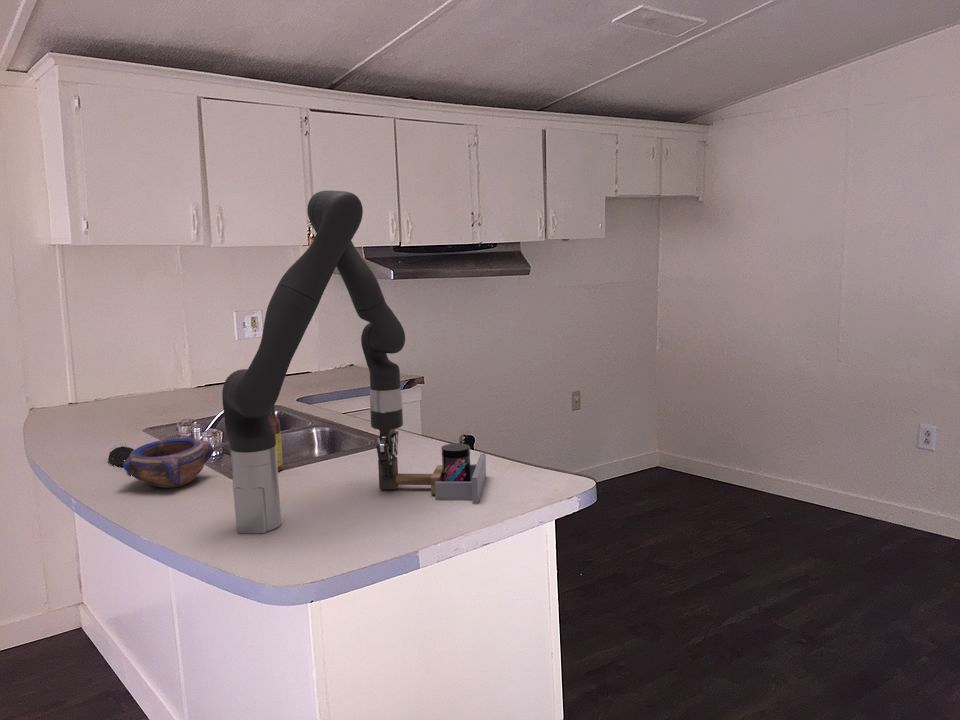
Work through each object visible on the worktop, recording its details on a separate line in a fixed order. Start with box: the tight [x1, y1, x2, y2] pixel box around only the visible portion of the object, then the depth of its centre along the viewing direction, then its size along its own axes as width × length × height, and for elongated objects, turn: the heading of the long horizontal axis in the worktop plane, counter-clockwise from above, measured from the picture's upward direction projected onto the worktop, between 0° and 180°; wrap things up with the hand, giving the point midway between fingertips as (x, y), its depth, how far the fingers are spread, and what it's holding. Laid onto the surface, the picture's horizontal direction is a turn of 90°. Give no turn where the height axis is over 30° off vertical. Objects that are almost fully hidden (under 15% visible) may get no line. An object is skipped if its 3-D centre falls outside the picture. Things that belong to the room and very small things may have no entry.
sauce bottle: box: [268, 405, 284, 472], centre depth 210 cm, size 6×6×20 cm
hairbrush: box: [107, 443, 135, 467], centre depth 220 cm, size 8×4×25 cm
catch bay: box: [434, 453, 487, 504], centre depth 191 cm, size 20×10×6 cm, turn 174°
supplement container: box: [440, 443, 472, 482], centre depth 190 cm, size 7×7×10 cm
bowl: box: [122, 437, 215, 489], centre depth 202 cm, size 18×18×10 cm
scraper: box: [377, 456, 443, 495], centre depth 192 cm, size 10×15×7 cm, turn 84°
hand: (389, 477), depth 192 cm, fingers closed on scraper, 3 cm apart
